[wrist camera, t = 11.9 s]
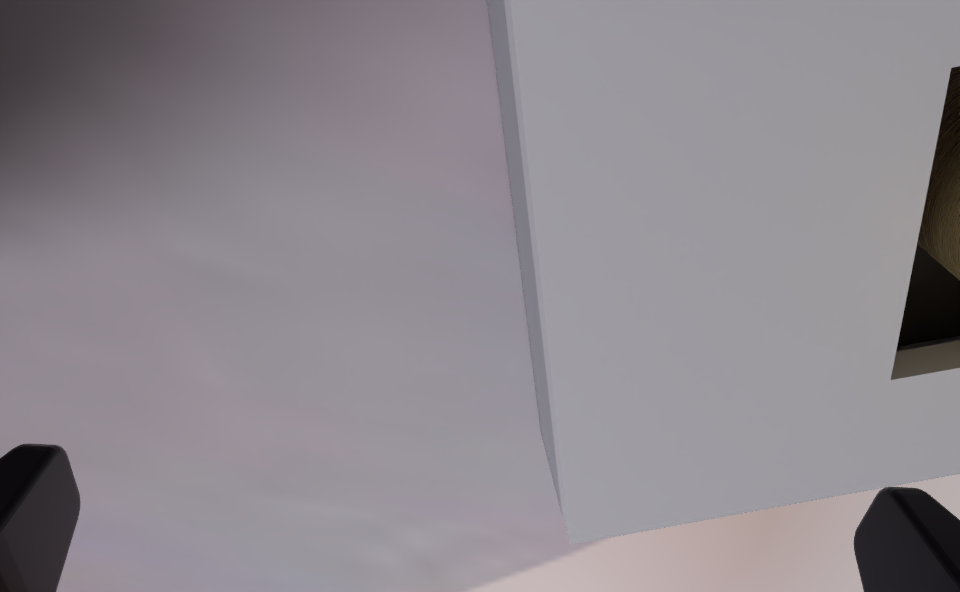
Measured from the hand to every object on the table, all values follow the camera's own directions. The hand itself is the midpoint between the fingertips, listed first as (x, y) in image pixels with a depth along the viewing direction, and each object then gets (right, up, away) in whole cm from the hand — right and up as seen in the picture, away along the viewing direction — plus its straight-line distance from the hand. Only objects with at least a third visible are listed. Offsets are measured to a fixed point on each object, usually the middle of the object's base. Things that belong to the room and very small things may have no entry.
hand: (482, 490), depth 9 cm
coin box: (+11, +6, +13) cm, 18 cm away
